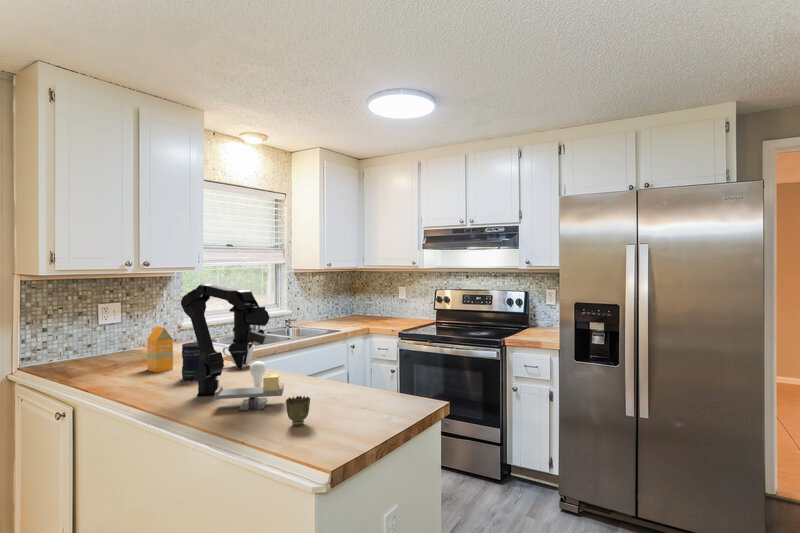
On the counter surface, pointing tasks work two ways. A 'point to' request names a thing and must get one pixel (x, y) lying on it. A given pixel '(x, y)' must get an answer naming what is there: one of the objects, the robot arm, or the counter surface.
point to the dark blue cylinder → (190, 360)
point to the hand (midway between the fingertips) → (242, 366)
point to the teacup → (247, 355)
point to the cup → (297, 409)
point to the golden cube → (271, 382)
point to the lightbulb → (257, 372)
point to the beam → (246, 392)
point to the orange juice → (159, 350)
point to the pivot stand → (253, 404)
